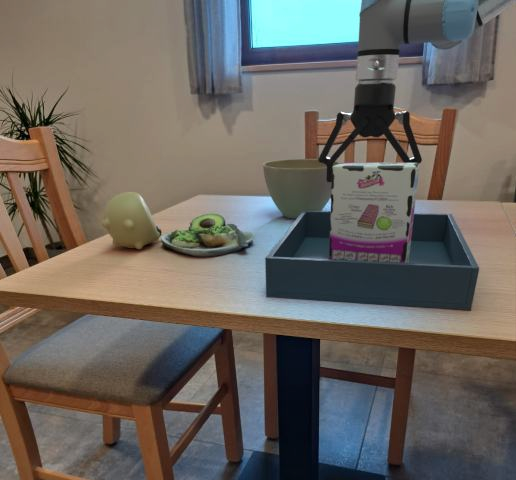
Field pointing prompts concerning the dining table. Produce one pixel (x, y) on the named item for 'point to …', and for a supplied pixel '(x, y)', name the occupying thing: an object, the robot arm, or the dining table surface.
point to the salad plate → (207, 237)
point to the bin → (375, 267)
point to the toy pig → (130, 221)
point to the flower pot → (297, 185)
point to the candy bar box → (372, 211)
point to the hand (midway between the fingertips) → (365, 199)
